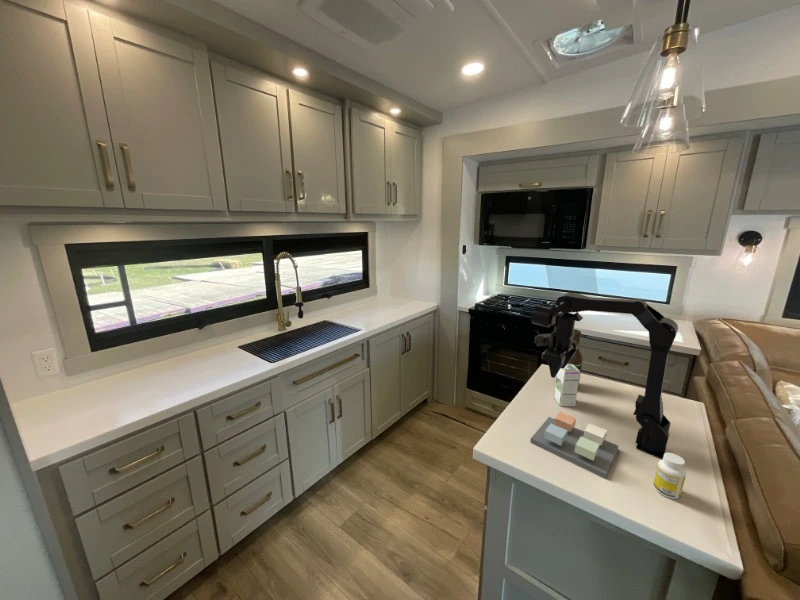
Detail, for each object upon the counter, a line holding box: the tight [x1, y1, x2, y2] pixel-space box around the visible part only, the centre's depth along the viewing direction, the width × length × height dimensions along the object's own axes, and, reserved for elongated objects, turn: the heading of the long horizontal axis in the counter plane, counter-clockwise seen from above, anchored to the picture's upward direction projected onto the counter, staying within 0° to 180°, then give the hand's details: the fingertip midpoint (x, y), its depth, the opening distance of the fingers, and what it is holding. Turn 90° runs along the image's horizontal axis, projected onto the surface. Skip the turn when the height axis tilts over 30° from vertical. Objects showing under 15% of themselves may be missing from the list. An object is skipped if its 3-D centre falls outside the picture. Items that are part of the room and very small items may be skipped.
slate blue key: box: [544, 424, 567, 446], centre depth 95 cm, size 5×5×2 cm
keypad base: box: [529, 416, 619, 479], centre depth 96 cm, size 20×15×2 cm
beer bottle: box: [568, 329, 583, 386], centre depth 128 cm, size 8×8×24 cm
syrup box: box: [553, 364, 581, 407], centre depth 117 cm, size 6×6×14 cm
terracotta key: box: [554, 411, 577, 432], centre depth 101 cm, size 5×5×2 cm
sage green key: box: [574, 436, 600, 461], centre depth 89 cm, size 5×5×2 cm
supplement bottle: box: [652, 452, 687, 500], centre depth 79 cm, size 5×5×10 cm
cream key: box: [583, 423, 608, 445], centre depth 95 cm, size 5×5×2 cm
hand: (557, 372), depth 110 cm, fingers open, 9 cm apart
